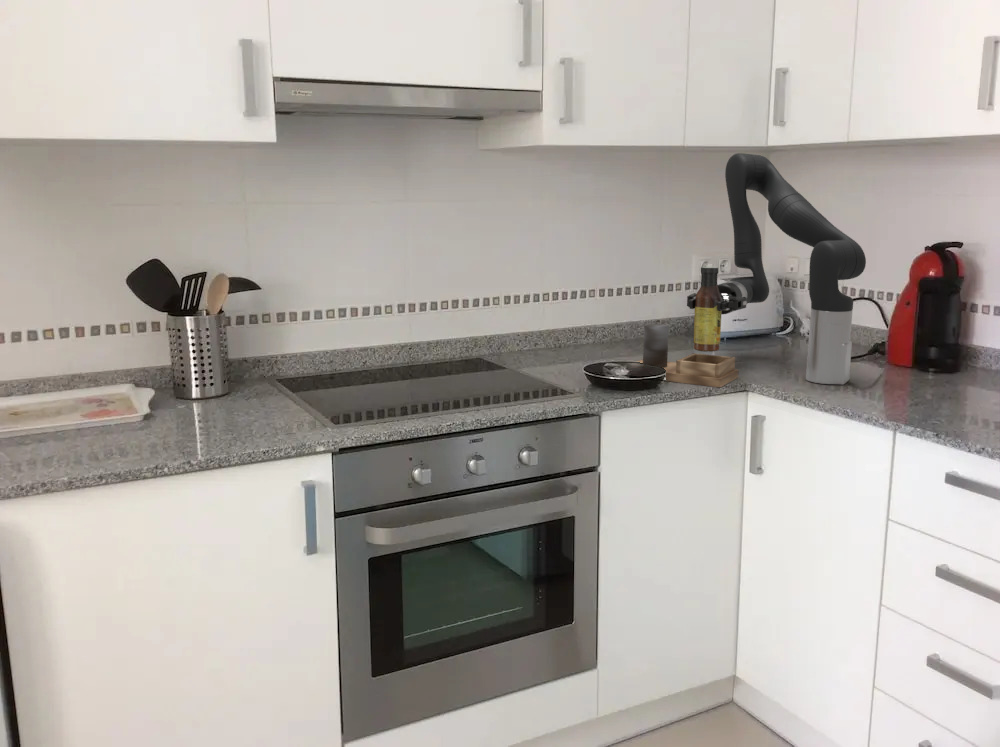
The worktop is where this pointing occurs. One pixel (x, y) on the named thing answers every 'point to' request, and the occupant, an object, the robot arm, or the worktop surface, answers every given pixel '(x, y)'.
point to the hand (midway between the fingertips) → (704, 305)
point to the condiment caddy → (686, 361)
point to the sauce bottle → (707, 312)
